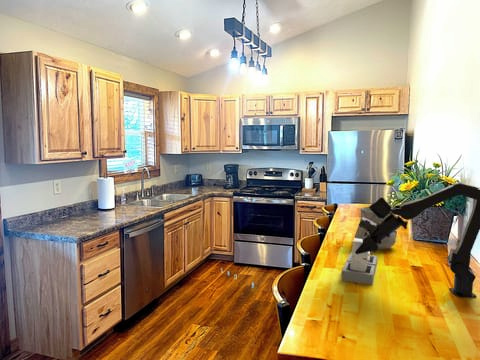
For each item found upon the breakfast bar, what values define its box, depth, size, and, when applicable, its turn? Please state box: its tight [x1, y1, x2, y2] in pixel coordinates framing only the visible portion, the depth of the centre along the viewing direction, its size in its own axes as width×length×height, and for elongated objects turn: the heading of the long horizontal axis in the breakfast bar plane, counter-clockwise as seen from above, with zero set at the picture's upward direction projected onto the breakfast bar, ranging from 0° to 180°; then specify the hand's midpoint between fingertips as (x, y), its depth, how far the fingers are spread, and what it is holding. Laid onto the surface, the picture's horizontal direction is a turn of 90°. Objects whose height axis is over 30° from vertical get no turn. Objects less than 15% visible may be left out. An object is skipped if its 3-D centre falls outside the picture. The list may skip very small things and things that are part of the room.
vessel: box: [354, 206, 398, 250], centre depth 185 cm, size 22×22×20 cm
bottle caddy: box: [341, 251, 378, 286], centre depth 150 cm, size 11×24×7 cm, turn 155°
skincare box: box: [350, 237, 368, 272], centre depth 143 cm, size 6×4×12 cm
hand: (356, 251), depth 143 cm, fingers closed on skincare box, 4 cm apart
